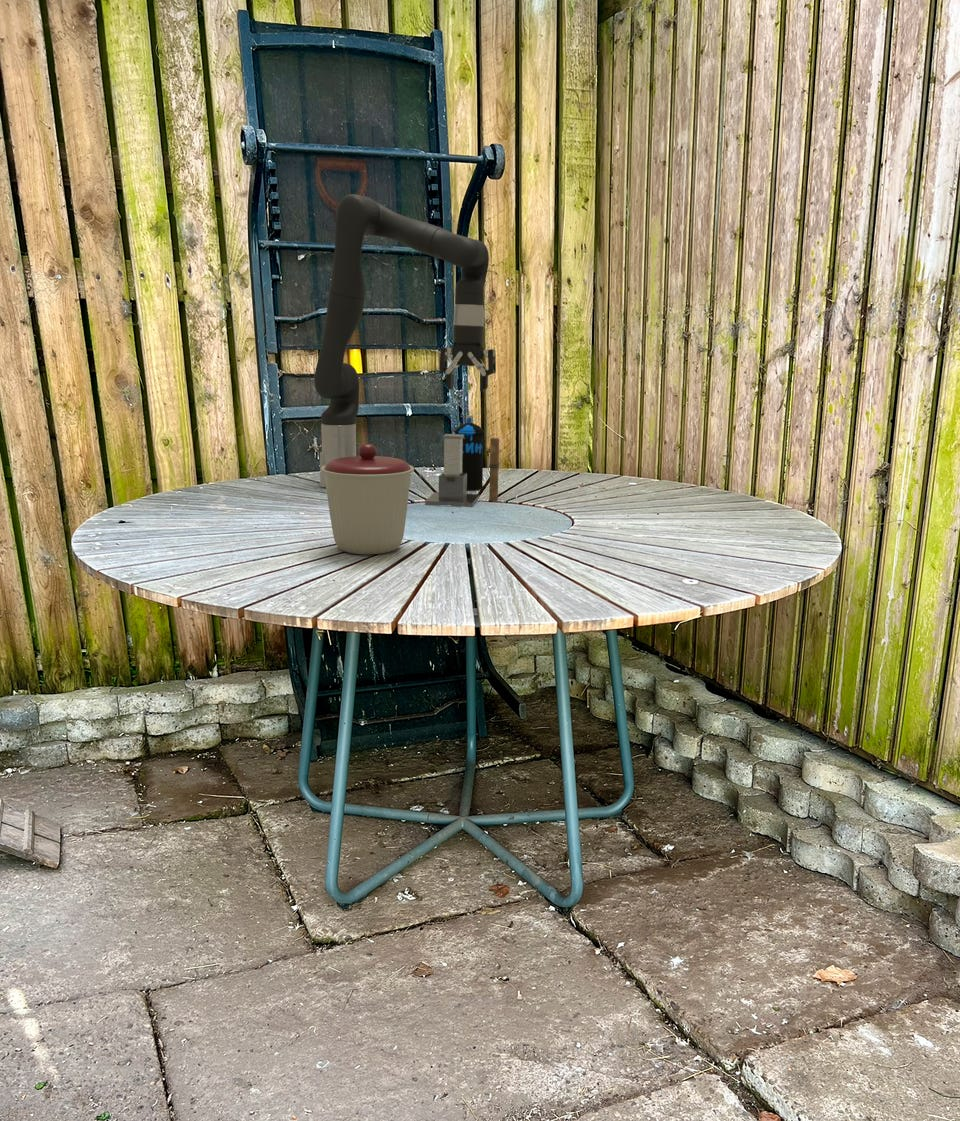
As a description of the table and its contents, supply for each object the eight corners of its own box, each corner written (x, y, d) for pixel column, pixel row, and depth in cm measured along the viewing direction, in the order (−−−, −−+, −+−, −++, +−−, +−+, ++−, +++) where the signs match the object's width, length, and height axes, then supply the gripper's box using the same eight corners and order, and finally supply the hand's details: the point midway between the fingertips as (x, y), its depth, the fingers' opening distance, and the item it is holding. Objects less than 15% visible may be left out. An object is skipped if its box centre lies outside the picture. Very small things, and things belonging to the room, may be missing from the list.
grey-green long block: (442, 497, 226) (442, 436, 223) (445, 494, 231) (446, 433, 227) (460, 498, 226) (461, 436, 222) (463, 495, 230) (464, 434, 226)
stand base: (425, 504, 224) (425, 477, 222) (434, 496, 235) (434, 469, 233) (472, 507, 222) (472, 479, 220) (479, 498, 234) (479, 471, 232)
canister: (305, 547, 179) (301, 442, 174) (376, 534, 191) (375, 436, 186) (360, 565, 167) (358, 452, 161) (432, 550, 179) (433, 445, 174)
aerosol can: (454, 485, 252) (455, 413, 247) (483, 486, 252) (485, 414, 247) (452, 490, 244) (453, 416, 239) (482, 491, 244) (484, 417, 239)
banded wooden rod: (488, 500, 230) (490, 438, 226) (489, 499, 232) (491, 437, 228) (497, 501, 230) (498, 439, 226) (498, 499, 232) (499, 438, 228)
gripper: (436, 323, 220) (435, 389, 224) (491, 324, 216) (489, 393, 220) (447, 323, 227) (445, 388, 231) (500, 325, 223) (498, 391, 227)
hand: (466, 390), depth 225 cm, fingers open, 8 cm apart
